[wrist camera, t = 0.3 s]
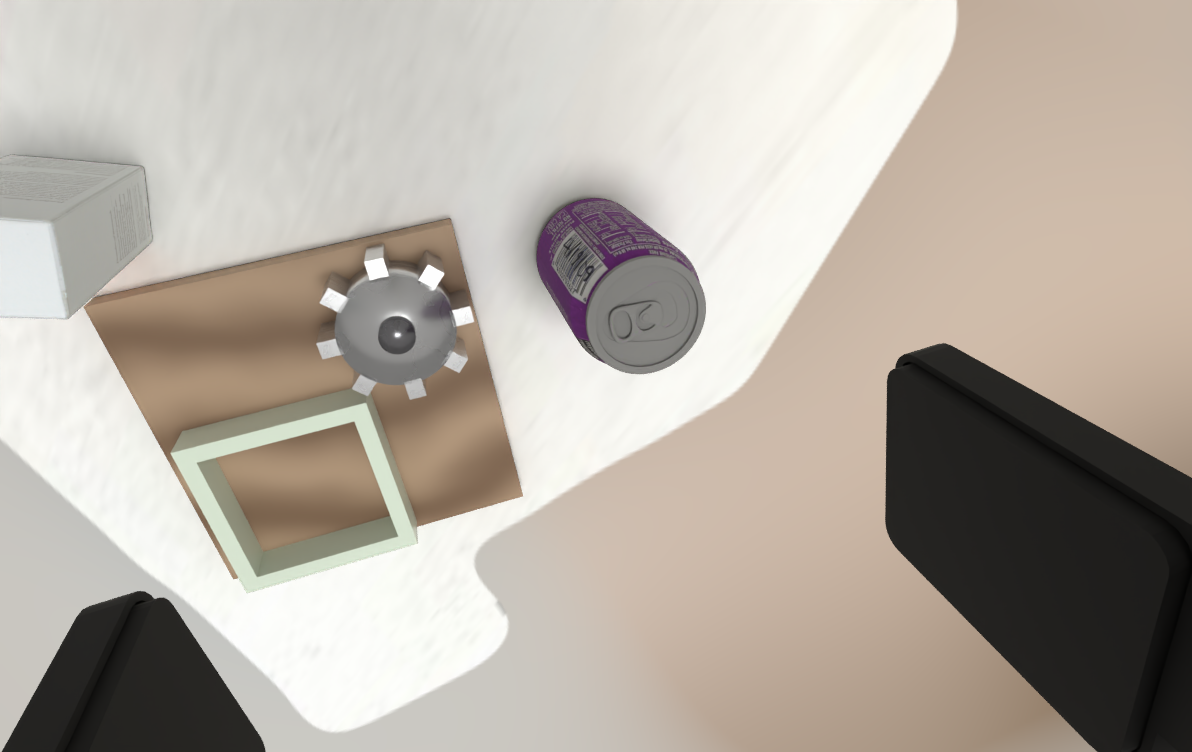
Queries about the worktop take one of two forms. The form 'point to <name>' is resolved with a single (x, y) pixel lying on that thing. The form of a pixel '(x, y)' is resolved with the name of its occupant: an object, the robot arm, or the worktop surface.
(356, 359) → the sun gear
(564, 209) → the beverage can
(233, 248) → the worktop surface
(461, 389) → the carrier plate
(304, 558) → the green square frame
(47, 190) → the skincare box
